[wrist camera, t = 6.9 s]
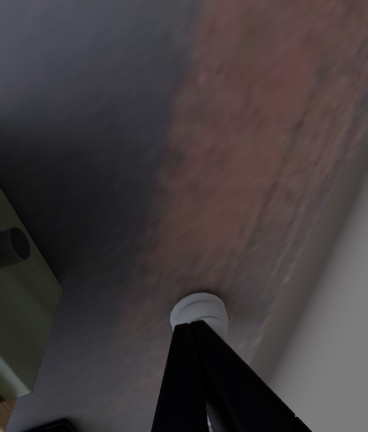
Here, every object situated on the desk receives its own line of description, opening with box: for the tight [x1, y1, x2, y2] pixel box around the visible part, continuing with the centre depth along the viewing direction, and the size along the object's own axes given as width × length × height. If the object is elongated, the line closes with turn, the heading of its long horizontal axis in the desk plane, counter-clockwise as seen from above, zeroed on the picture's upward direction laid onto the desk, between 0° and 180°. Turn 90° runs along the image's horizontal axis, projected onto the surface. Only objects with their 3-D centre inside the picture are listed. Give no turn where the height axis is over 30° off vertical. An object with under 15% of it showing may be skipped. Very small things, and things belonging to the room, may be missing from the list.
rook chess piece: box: [170, 292, 229, 426], centre depth 19 cm, size 4×4×8 cm
